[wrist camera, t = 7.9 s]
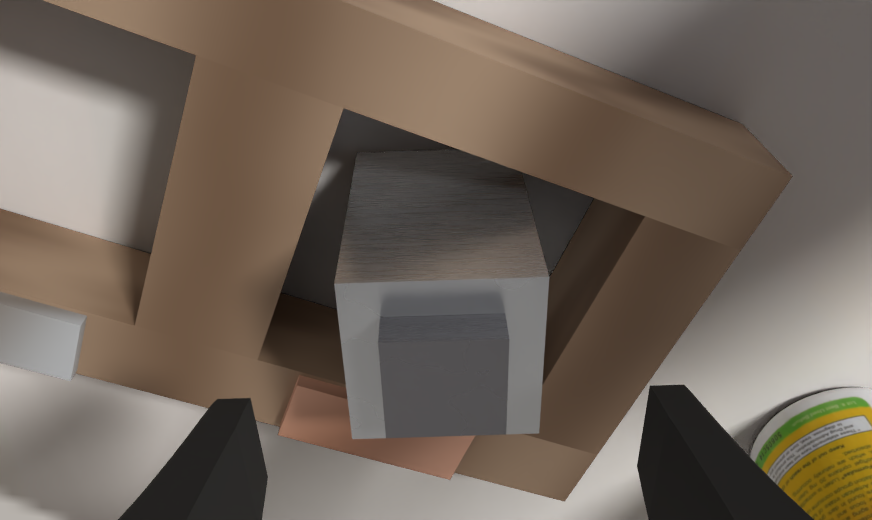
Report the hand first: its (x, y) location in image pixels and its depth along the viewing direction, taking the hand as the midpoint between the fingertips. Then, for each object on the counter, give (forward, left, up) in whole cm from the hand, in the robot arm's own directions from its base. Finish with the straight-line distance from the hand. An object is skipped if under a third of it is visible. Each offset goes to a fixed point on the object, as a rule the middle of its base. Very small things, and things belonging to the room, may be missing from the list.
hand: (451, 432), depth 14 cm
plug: (0, 0, -8) cm, 8 cm away
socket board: (+5, 0, -8) cm, 9 cm away
